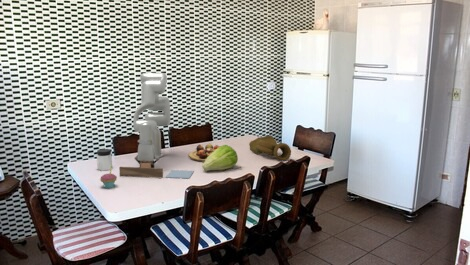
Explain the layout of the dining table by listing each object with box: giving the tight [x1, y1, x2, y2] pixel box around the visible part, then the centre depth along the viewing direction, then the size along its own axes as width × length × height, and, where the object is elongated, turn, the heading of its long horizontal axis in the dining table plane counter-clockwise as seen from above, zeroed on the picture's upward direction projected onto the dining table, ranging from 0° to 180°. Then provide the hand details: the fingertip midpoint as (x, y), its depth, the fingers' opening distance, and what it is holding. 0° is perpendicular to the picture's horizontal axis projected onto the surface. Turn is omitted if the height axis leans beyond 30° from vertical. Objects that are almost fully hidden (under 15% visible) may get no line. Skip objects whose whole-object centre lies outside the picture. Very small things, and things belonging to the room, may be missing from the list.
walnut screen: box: [119, 166, 164, 179], centre depth 224 cm, size 2×26×6 cm, turn 85°
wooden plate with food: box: [188, 143, 220, 163], centre depth 270 cm, size 32×32×8 cm
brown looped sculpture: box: [248, 134, 292, 161], centre depth 272 cm, size 23×16×28 cm
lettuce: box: [201, 144, 239, 171], centre depth 241 cm, size 15×24×16 cm
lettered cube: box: [141, 161, 152, 168], centre depth 235 cm, size 6×6×6 cm
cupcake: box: [100, 165, 118, 189], centre depth 206 cm, size 9×8×12 cm
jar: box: [96, 148, 113, 171], centre depth 238 cm, size 9×8×12 cm
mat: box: [165, 169, 195, 180], centre depth 229 cm, size 14×14×1 cm
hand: (147, 170), depth 235 cm, fingers closed on lettered cube, 6 cm apart
